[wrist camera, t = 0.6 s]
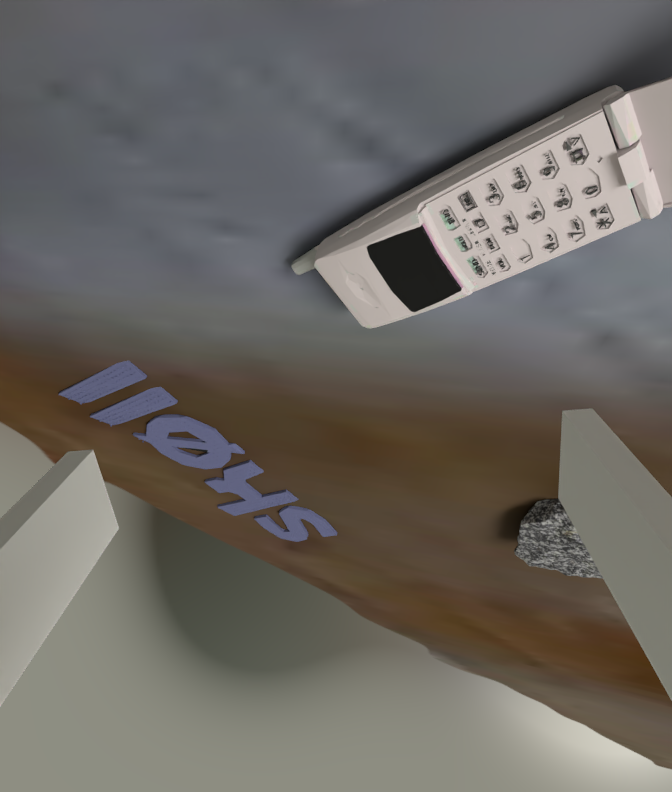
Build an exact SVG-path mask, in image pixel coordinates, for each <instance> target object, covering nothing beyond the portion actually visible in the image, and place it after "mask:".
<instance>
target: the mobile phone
mask: <svg viewBox="0 0 672 792" xmlns="http://www.w3.org/2000/svg"><path fill="white" fill-rule="evenodd" d="M465 178H466V179H465ZM441 191H442V192H441ZM667 207H672V77H670V78H667V79H664V80H661V81H657V82H654V83H651V84H648V85H645V86H642V87H639V88H636V89H633V90H630V91H627V92H624V91H623V89H622V88H621V87H619V86H617V85H613V86H609V87H607V88H605V89H603V90H600V91H598V92H596V93H594V94H592V95H590V96H588V97H586V98H584V99H582V100H580V101H578V102H576V103H574V104H572V105H570V106H568V107H566V108H564V109H562V110H560V111H558V112H556V113H554V114H552V115H551V116H549V117H547V118H545V119H543V120H541V121H539V122H537V123H535V124H533V125H531V126H529V127H527V128H525V129H523V130H521V131H519V132H518V133H516V134H514V135H512V136H510V137H508V138H506V139H504V140H502V141H500V142H498V143H496V144H494V145H492V146H490V147H488V148H486V149H485V150H483V151H481V152H479V153H477V154H475V155H473V156H471V157H469V158H468V159H466V160H464V161H462V162H460V163H458V164H456V165H455V166H453V167H451V168H449V169H447V170H445V171H444V172H442V173H440V174H438V175H436V176H434V177H433V178H431V179H429V180H427V181H425V182H423V183H422V184H420V185H418V186H416V187H414V188H412V189H411V190H409V191H407V192H405V193H403V194H401V195H400V196H398V197H396V198H394V199H392V200H390V201H389V202H387V203H385V204H383V205H381V206H379V207H378V208H376V209H374V210H372V211H370V212H369V213H367V214H365V215H364V216H362V217H360V218H359V219H357V220H355V221H354V222H352V223H350V224H349V225H347V226H345V227H344V228H342V229H340V230H339V231H337V232H335V233H334V234H332V235H330V236H329V237H327V238H325V239H324V240H323V241H322V242H321V244H320V245H317V246H316V247H314V248H313V249H311V250H310V251H308V252H307V253H305V254H304V255H302V256H301V257H299V258H298V259H296V260H295V261H293V263H292V269H293V270H294V272H295V273H296V274H298V275H300V274H303V273H305V272H307V271H310V270H312V269H315V268H316V269H317V271H318V272H319V273H320V274H321V276H322V277H323V278H324V279H325V281H326V282H327V283H328V284H329V285H330V287H331V288H332V289H333V290H334V292H335V293H336V294H337V295H338V297H339V298H340V299H341V300H342V302H343V303H344V304H345V305H346V307H347V308H348V309H349V310H350V312H351V313H352V314H353V315H354V317H355V318H356V319H357V320H358V322H359V323H360V324H361V325H362V326H364V327H366V328H375V327H379V326H382V325H386V324H389V323H392V322H395V321H398V320H401V319H404V318H407V317H410V316H413V315H416V314H419V313H422V312H425V311H428V310H431V309H434V308H436V307H439V306H442V305H444V304H447V303H450V302H452V301H455V300H458V299H460V298H463V297H466V296H468V295H470V294H471V293H472V292H474V291H477V290H479V289H482V288H484V287H487V286H489V285H492V284H494V283H496V282H499V281H501V280H504V279H506V278H509V277H511V276H514V275H516V274H518V273H520V272H523V271H525V270H527V269H530V268H532V267H534V266H537V265H539V264H541V263H544V262H546V261H548V260H551V259H553V258H555V257H558V256H560V255H562V254H564V253H567V252H569V251H571V250H574V249H576V248H578V247H581V246H583V245H585V244H588V243H590V242H592V241H595V240H597V239H599V238H601V237H604V236H606V235H608V234H611V233H613V232H615V231H618V230H620V229H622V228H625V227H627V226H629V225H632V224H634V223H636V222H639V221H641V218H645V219H652V218H654V217H655V216H657V215H659V214H660V212H661V211H662V209H663V208H667ZM640 216H641V218H640Z"/></svg>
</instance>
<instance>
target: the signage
mask: <svg viewBox="0 0 672 792" xmlns="http://www.w3.org/2000/svg"><path fill="white" fill-rule="evenodd" d="M146 377H147V375H146V374H145V373H143V372H142V371H141V370H140V369H138V368H137V367H136V366H135V365H134V364H132V363H131V362H130V361H125V362H120V363H117V364H115V365H113V366H111V367H109V368H107V369H105V370H103V371H101V372H99V373H97V374H95V375H93V376H91V377H89V378H87V379H85V380H83V381H81V382H79V383H77V384H75V385H73V386H71V387H69V388H67V389H65V390H63V391H61V392H59V395H61V396H64V397H66V398H68V399H72V400H74V401H77V402H79V403H80V404H82V403H86V402H91V401H93V400H96V399H98V398H100V397H103V396H105V395H108V394H110V393H112V392H115V391H117V390H119V389H122V388H124V387H127V386H129V385H131V384H134V383H136V382H139V381H141V380H143V379H146ZM177 402H178V400H176V399H175V398H174V397H173V396H171V395H170V394H169V393H168V392H167V391H165V390H164V389H163V388H162V387H157V388H151V389H149V390H146V391H144V392H142V393H139V394H137V395H135V396H132V397H130V398H128V399H125V400H123V401H121V402H118V403H116V404H114V405H111V406H109V407H107V408H104V409H102V410H100V411H98V412H95V413H93V414H91V415H90V417H92V418H94V419H97V420H100V421H102V422H105V423H108V424H110V426H111V427H112V425H115V424H121V423H123V422H126V421H129V420H132V419H135V418H137V417H140V416H143V415H146V414H149V413H151V412H154V411H157V410H160V409H163V408H165V407H168V406H171V405H174V404H176V403H177ZM183 431H187V432H189V433H191V434H193V435H194V436H196V437H198V438H200V439H191V438H180V437H170V436H168V434H169V432H183ZM133 435H134V436H135V437H138V438H139V439H142V440H144V441H146V442H149V443H151V444H152V445H153V446H154V447H155V448H156V449H157V450H158V451H159V452H160V453H162V454H164V455H165V456H167V457H169V458H171V459H173V460H175V461H177V462H179V463H180V464H182V465H186V466H191V467H197V468H202V469H211V468H212V469H213V468H221V467H222V466H224V465H225V464H226V463H227V462H228V461H229V460H230V459H231V453H240V454H244V453H245V451H244V450H243V449H242V448H240V447H239V446H238V445H237V444H234V443H228V442H227V441H226V439H225V438H224V437H223V436H222V435H221V434H220V433H219V432H218V431H217V430H216V429H215V428H213V427H210V426H208V425H206V424H204V423H202V422H199V421H197V420H195V419H192V418H190V417H187V416H183V415H178V414H175V415H159V416H156V417H154V418H153V419H151V420H150V422H149V423H148V424H147V432H146V434H143V433H133ZM144 441H142V442H144ZM177 447H180V448H186V449H191V450H197V451H203V452H207V453H205V454H202V455H194V454H191V453H188V452H185V451H183V450H180V449H178V448H177ZM260 473H263V470H262V469H261V468H260V467H258V466H257V465H256V464H255V463H253V462H252V461H251V460H249V461H245V462H242V463H239V464H236V465H233V466H230V467H227V468H224V478H217V477H215V478H211V479H206V480H205V483H206V484H208V485H209V486H210V487H212V488H213V489H215V490H216V491H217V492H219V493H223V492H231V493H235V494H238V495H239V496H241V497H242V498H243V499H242V500H237V501H233V502H228V503H224V504H219V505H218V506H217V507H218V508H220V509H222V510H224V511H226V512H228V513H230V514H232V515H234V516H236V515H240V514H244V513H248V512H252V511H256V510H261V509H265V508H269V507H273V506H277V505H281V504H285V503H289V502H290V503H291V502H294V501H296V500H299V499H297V498H296V497H295V496H294V495H293V494H291V493H290V492H289V491H288V490H282V491H278V492H273V493H269V494H264V495H261V494H260V493H259V492H258V491H256V490H255V489H254V488H253V487H251V486H250V485H249V484H248V483H247V482H246V479H248V478H250V477H253V476H255V475H258V474H260ZM279 515H280V516H281V518H282V520H283V521H284V523H285V525H286V526H287V528H288V530H284V529H282V528H281V527H280V526H279V525H277V524H276V523H275V522H274V521H273V520H272V519H271V518H270V517H269V516H268V515H267V514H266V515H260V516H255V518H254V519H255V520H256V521H257V522H258V523H259V524H260V525H261V526H262V527H263V528H264V529H266V530H268V531H270V532H271V533H273V534H275V535H276V536H278V537H280V538H281V539H286V540H291V541H296V542H298V541H302V540H306V539H307V536H308V532H307V530H306V528H305V527H304V525H303V523H302V522H301V520H300V519H305V520H306V521H308V522H310V523H312V524H313V525H314V526H315V527H316V529H317V530H318V531H319V532H320V534H321V535H322V536H323V537H327V536H334V535H337V532H336V531H335V529H334V528H333V527H332V526H331V525H330V524H329V523H328V522H327V521H326V520H325V519H324V518H323V517H321V516H319V515H318V514H316V513H314V512H313V511H311V510H309V509H306V508H301V507H296V506H286V507H284V508H282V509H281V510H280V511H279Z"/></svg>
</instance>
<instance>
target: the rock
mask: <svg viewBox="0 0 672 792" xmlns="http://www.w3.org/2000/svg"><path fill="white" fill-rule="evenodd" d="M517 540H518V546H517V547H516V548H515V550H514V552H515V555H516V556H518V557H519V558H521V559H523V560H524V561H525V562H526V563H527V564H528V565H529V566H537V567H539V568H546V569H550V570H558V571H560V572H561V573H563V574H564V575H568V576H580V577H596V578H603V577H602V575H601V574H600V572H599V570H598V568H597V566H596V565H595V563H594V561H593V559H592V557H591V556H590V554H589V552H588V550H587V549H586V547H585V545H584V543H583V541H582V540H581V538H580V536H579V534H578V532H577V531H576V529H575V527H574V525H573V523H572V522H571V520H570V518H569V516H568V515H567V513H566V511H565V509H564V507H563V506H562V504H561V502H560V500H559V499H553V500H541V501H538V502H537V503H536V504H535V505H534V506H533V507H532V508H531V509H530V510H529V512H528V513H527V515H526V516H525V517H524V518H523V519H522V521H521V524H520V529H519V536H518V538H517Z"/></svg>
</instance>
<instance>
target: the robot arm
mask: <svg viewBox="0 0 672 792" xmlns="http://www.w3.org/2000/svg"><path fill="white" fill-rule="evenodd" d="M558 498H559V500H560V502H561V504H562V506H563V507H564V509H565V511H566V513H567V515H568V516H569V518H570V520H571V522H572V523H573V525H574V527H575V529H576V531H577V532H578V534H579V536H580V538H581V540H582V541H583V543H584V545H585V547H586V549H587V550H588V552H589V554H590V556H591V557H592V559H593V561H594V563H595V565H596V566H597V568H598V570H599V572H600V574H601V575H602V577H603V579H604V581H605V582H606V584H607V586H608V588H609V590H610V591H611V593H612V595H613V597H614V599H615V600H616V602H617V604H618V606H619V607H620V609H621V611H622V613H623V615H624V616H625V618H626V620H627V622H628V624H629V625H630V627H631V629H632V631H633V632H634V634H635V636H636V638H637V640H638V641H639V643H640V645H641V647H642V649H643V650H644V652H645V654H646V656H647V658H648V659H649V661H650V663H651V665H652V666H653V668H654V670H655V672H656V674H657V675H658V677H659V679H660V681H661V683H662V684H663V686H664V688H665V690H666V691H667V693H668V695H669V697H670V699H671V700H672V497H671V496H670V495H669V494H668V493H667V492H666V491H665V489H664V488H663V487H662V486H661V485H660V484H659V483H658V482H657V480H656V479H655V478H654V477H653V476H652V475H651V474H650V473H649V472H648V470H647V469H646V468H645V467H644V466H643V465H642V464H641V463H640V461H639V460H638V459H637V458H636V457H635V456H634V455H633V454H632V452H631V451H630V450H629V449H628V448H627V447H626V446H625V445H624V444H623V442H622V441H621V440H620V439H619V438H618V437H617V436H616V435H615V433H614V432H613V431H612V430H611V429H610V428H609V427H608V426H607V424H606V423H605V422H604V421H603V420H602V419H601V418H600V417H599V416H598V414H597V413H596V412H595V411H594V410H593V409H592V408H591V409H579V410H567V411H562V430H561V451H560V472H559V494H558ZM118 529H119V527H118V524H117V521H116V518H115V514H114V512H113V508H112V505H111V502H110V499H109V496H108V493H107V490H106V487H105V484H104V481H103V478H102V475H101V472H100V469H99V466H98V463H97V460H96V457H95V454H94V451H93V450H84V451H72V452H67V453H66V454H65V455H64V456H63V457H62V458H61V459H60V460H59V461H58V462H57V463H56V464H55V465H54V466H53V467H52V468H51V469H50V470H49V471H48V472H47V473H46V474H45V475H44V476H43V477H42V478H41V479H40V480H39V481H38V482H37V483H36V484H35V485H34V486H33V487H32V488H31V489H30V490H29V491H28V492H27V493H26V494H25V495H24V496H23V497H22V498H21V499H20V500H19V501H18V502H17V503H16V504H15V505H14V506H13V507H12V508H11V509H10V510H9V511H8V512H7V513H6V514H5V515H4V516H3V517H2V518H1V519H0V706H1V705H2V703H3V702H4V700H5V699H6V697H7V696H8V694H9V693H10V691H11V690H12V688H13V687H14V685H15V684H16V682H17V681H18V679H19V678H20V676H21V675H22V673H23V672H24V670H25V668H26V667H27V666H28V664H29V663H30V661H31V660H32V658H33V657H34V655H35V654H36V652H37V651H38V649H39V648H40V646H41V645H42V643H43V642H44V640H45V639H46V637H47V636H48V634H49V633H50V631H51V629H52V628H53V627H54V625H55V624H56V622H57V621H58V619H59V617H60V616H61V615H62V613H63V612H64V610H65V609H66V607H67V606H68V604H69V603H70V601H71V600H72V598H73V597H74V595H75V594H76V592H77V591H78V589H79V588H80V586H81V585H82V583H83V581H84V580H85V579H86V577H87V575H88V574H89V573H90V571H91V570H92V568H93V567H94V565H95V564H96V562H97V561H98V559H99V558H100V556H101V554H102V553H103V552H104V550H105V549H106V547H107V545H108V544H109V543H110V541H111V540H112V538H113V536H114V535H115V534H116V532H117V531H118Z"/></svg>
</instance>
